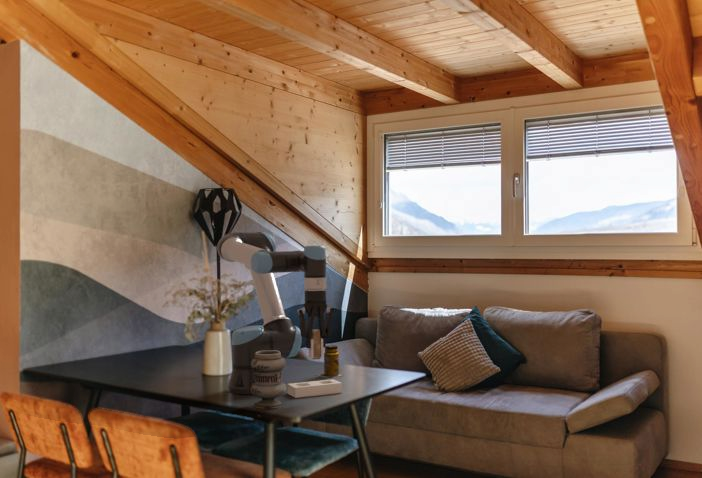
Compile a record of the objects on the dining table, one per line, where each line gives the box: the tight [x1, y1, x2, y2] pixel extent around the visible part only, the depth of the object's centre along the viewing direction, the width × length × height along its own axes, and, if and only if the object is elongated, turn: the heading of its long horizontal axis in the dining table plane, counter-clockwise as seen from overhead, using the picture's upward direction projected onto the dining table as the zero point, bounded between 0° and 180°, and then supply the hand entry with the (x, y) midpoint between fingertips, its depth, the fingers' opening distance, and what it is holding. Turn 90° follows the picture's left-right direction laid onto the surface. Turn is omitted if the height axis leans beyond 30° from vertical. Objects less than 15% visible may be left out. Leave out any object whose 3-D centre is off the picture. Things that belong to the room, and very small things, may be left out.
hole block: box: [286, 378, 343, 399], centre depth 258 cm, size 18×8×4 cm, turn 115°
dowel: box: [311, 328, 321, 360], centre depth 249 cm, size 3×3×10 cm
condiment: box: [316, 344, 343, 378], centre depth 292 cm, size 7×8×12 cm
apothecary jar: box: [250, 350, 288, 410], centre depth 239 cm, size 12×12×18 cm
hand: (316, 357), depth 249 cm, fingers closed on dowel, 3 cm apart
